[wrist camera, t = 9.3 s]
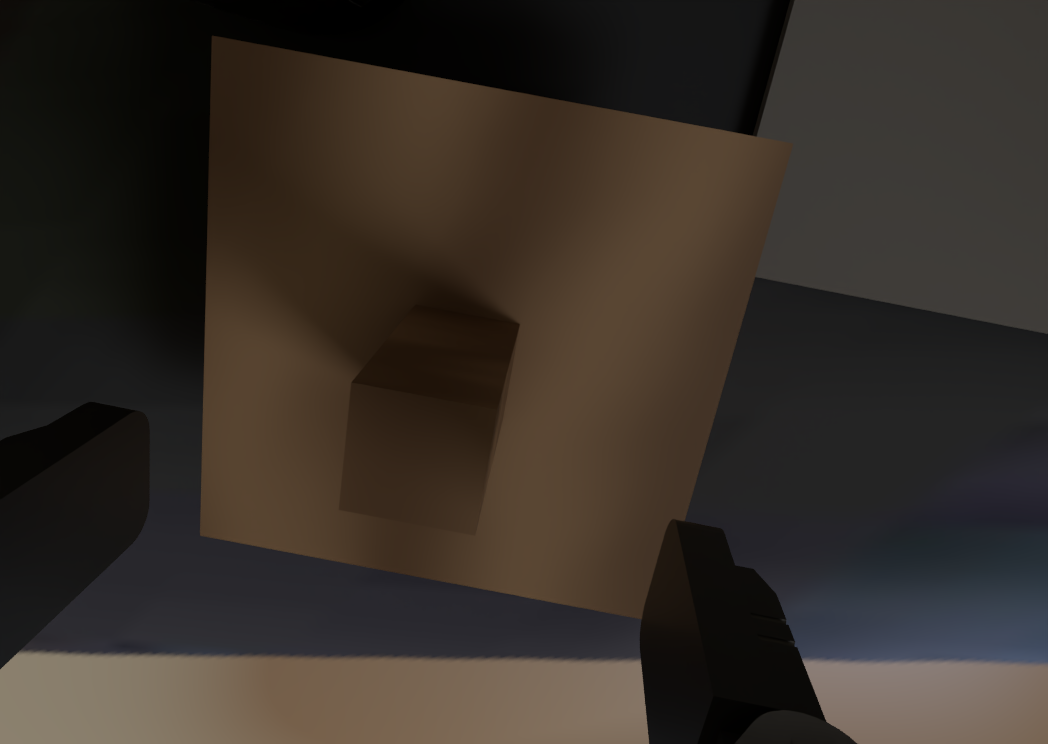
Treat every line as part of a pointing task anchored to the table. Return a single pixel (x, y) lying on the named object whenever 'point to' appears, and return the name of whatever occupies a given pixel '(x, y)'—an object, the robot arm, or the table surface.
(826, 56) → the mat
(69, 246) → the table surface
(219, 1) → the supplement bottle
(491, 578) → the lid
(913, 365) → the table surface
